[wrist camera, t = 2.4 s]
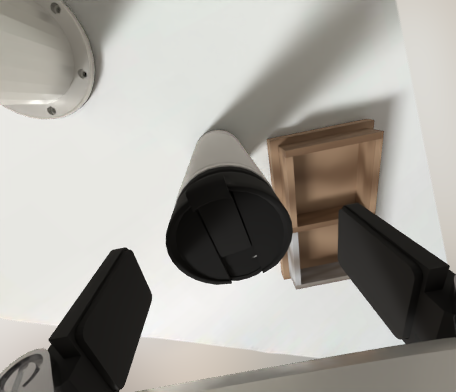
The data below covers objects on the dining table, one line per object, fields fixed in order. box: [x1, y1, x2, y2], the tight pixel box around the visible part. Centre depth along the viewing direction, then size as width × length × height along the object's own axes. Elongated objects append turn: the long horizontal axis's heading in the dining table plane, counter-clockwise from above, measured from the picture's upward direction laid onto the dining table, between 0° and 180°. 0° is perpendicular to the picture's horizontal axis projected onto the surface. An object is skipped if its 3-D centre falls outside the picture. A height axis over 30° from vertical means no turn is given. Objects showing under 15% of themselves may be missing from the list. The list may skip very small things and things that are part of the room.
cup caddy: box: [267, 119, 384, 289], centre depth 30 cm, size 23×13×4 cm, turn 11°
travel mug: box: [166, 130, 293, 285], centre depth 19 cm, size 6×7×20 cm
